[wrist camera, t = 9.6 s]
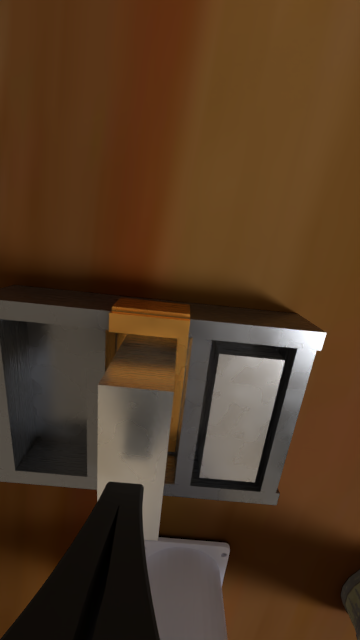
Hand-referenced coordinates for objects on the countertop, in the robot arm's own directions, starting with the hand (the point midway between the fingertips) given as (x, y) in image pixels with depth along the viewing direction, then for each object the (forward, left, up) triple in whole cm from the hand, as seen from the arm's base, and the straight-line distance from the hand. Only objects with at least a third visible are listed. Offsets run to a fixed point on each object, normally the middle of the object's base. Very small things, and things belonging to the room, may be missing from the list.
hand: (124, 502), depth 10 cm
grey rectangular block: (0, 0, -8) cm, 8 cm away
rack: (0, 0, -9) cm, 9 cm away
